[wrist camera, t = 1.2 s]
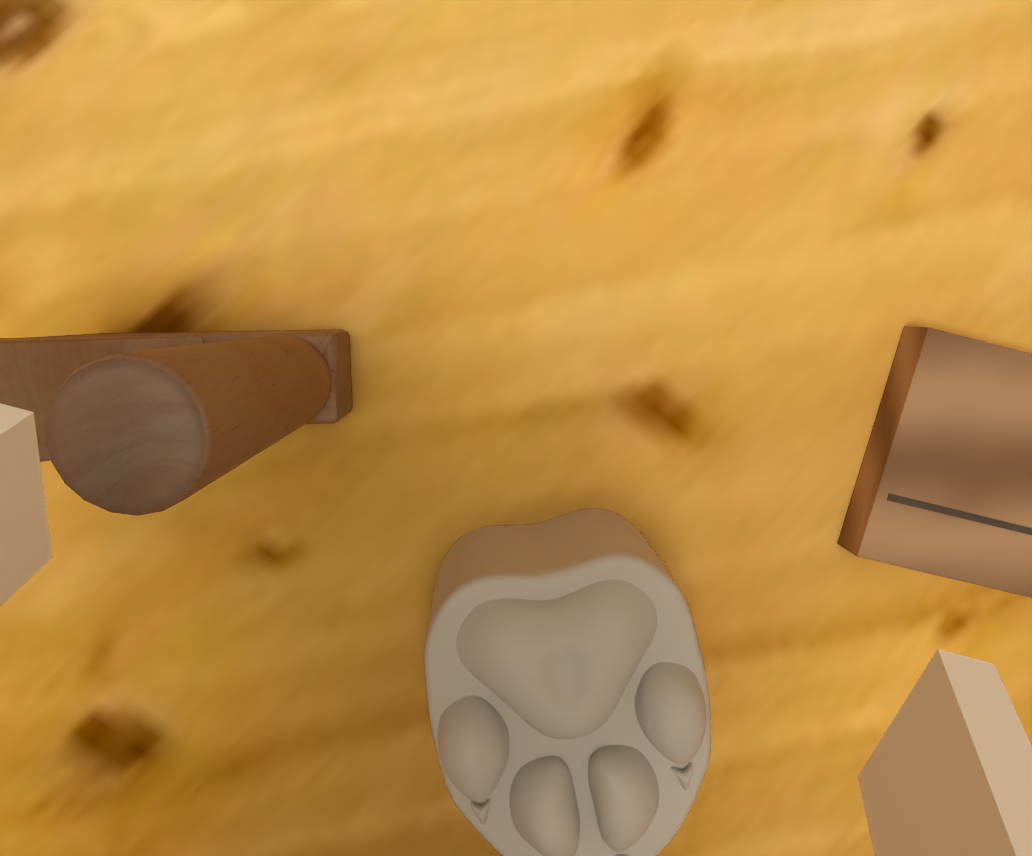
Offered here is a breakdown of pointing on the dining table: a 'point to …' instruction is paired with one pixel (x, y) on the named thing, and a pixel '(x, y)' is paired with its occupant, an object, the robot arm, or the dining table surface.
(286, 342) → the wooden block
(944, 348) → the board
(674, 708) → the paw mold
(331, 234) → the dining table surface
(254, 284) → the dining table surface
